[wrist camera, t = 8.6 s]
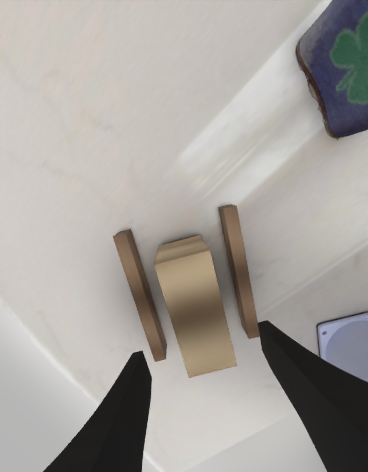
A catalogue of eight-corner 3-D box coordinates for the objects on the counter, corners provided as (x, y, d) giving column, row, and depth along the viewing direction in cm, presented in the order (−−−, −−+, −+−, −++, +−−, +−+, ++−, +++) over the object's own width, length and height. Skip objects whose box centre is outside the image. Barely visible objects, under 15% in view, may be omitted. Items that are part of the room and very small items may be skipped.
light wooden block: (222, 324, 20) (237, 365, 16) (185, 333, 21) (188, 377, 16) (200, 234, 18) (209, 250, 13) (159, 245, 18) (153, 264, 13)
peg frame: (252, 323, 22) (259, 336, 20) (156, 347, 22) (154, 361, 21) (230, 204, 19) (236, 205, 17) (119, 232, 19) (112, 236, 17)
